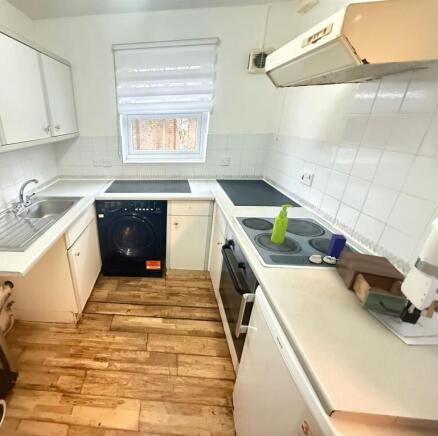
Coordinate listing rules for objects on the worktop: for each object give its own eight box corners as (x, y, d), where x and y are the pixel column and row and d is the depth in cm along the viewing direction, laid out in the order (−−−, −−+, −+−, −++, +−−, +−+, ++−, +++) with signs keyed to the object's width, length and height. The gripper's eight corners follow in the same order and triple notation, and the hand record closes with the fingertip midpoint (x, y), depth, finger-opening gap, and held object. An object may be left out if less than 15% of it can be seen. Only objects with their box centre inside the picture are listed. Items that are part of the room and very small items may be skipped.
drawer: (423, 330, 71) (433, 312, 69) (367, 317, 76) (375, 300, 73) (391, 291, 87) (399, 276, 85) (347, 282, 92) (353, 268, 89)
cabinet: (397, 299, 85) (407, 279, 81) (347, 289, 90) (355, 270, 86) (377, 275, 98) (385, 257, 95) (335, 267, 103) (341, 250, 100)
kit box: (335, 255, 112) (343, 234, 107) (339, 261, 108) (346, 239, 103) (325, 254, 113) (332, 233, 109) (328, 259, 109) (335, 238, 105)
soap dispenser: (287, 243, 123) (296, 207, 115) (274, 243, 123) (282, 207, 115) (281, 238, 128) (289, 203, 121) (268, 238, 128) (276, 203, 121)
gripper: (480, 289, 54) (441, 346, 61) (436, 256, 67) (408, 307, 74) (436, 281, 57) (404, 337, 64) (401, 251, 69) (378, 300, 77)
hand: (406, 320), depth 69 cm, fingers closed
